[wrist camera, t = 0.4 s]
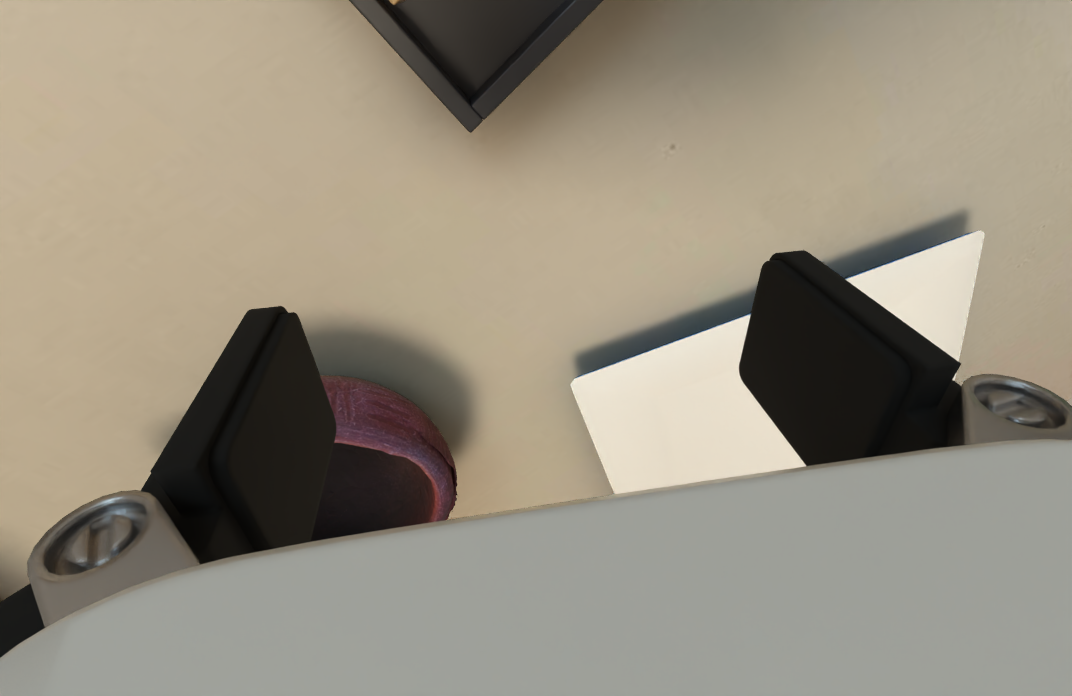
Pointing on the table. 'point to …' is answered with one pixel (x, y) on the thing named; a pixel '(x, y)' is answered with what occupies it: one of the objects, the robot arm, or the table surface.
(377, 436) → the bowl
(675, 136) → the table surface
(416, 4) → the tray
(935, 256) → the plate
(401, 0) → the block
